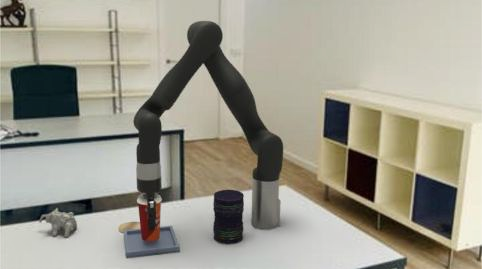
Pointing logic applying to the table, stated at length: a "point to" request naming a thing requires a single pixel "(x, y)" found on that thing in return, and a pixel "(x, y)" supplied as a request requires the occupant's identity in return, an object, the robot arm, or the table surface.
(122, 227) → the cork coaster
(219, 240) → the storage jar
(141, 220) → the paper cup
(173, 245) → the tray
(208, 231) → the table surface
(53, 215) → the elephant statuette
